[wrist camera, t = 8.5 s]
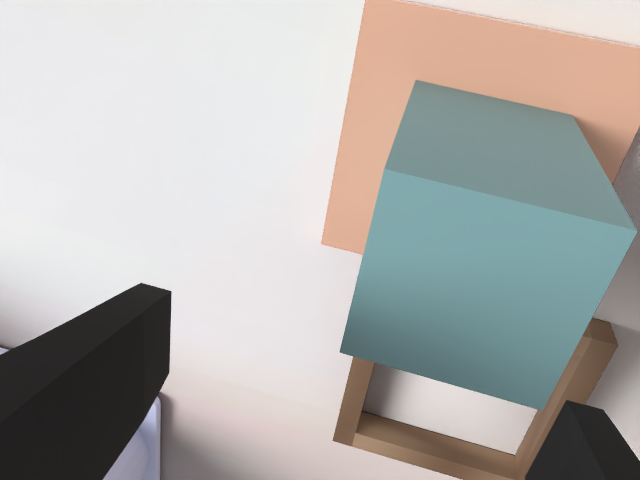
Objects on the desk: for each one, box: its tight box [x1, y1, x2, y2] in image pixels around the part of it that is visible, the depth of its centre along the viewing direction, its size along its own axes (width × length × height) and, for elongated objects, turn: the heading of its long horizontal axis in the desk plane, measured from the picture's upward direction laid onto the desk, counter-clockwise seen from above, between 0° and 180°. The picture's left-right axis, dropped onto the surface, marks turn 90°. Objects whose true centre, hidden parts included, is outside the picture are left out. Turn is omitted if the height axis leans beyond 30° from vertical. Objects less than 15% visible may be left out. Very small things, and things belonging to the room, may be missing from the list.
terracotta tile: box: [321, 0, 640, 255], centre depth 17 cm, size 8×8×1 cm
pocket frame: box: [333, 318, 618, 480], centre depth 21 cm, size 8×8×1 cm
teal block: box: [340, 80, 638, 411], centre depth 14 cm, size 4×4×7 cm
